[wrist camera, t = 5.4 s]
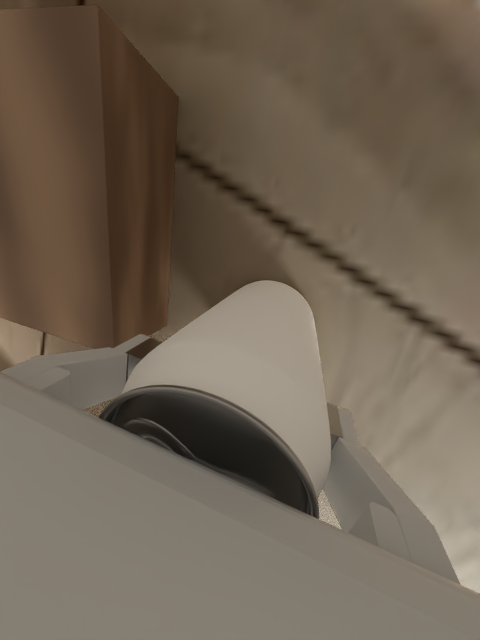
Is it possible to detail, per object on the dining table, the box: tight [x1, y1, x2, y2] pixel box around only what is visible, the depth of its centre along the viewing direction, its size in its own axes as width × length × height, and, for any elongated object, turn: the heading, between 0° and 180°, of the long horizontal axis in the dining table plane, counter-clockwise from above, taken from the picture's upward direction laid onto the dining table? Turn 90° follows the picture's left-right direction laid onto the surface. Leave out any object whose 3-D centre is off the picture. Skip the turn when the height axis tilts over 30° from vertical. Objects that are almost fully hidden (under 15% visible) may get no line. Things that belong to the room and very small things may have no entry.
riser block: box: [0, 5, 178, 349], centre depth 15 cm, size 15×15×6 cm
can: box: [99, 280, 331, 519], centre depth 11 cm, size 6×6×12 cm
